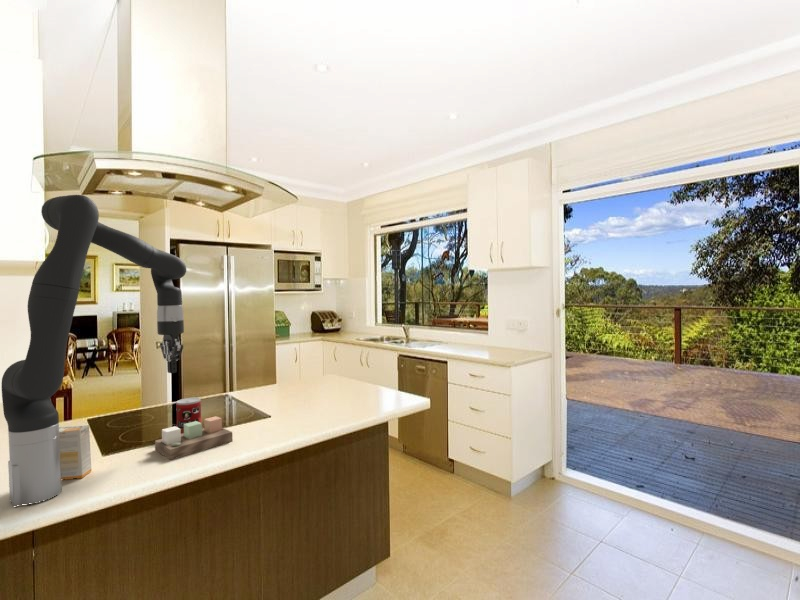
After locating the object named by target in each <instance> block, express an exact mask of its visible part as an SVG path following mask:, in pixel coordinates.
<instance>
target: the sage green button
mask: <svg viewBox="0 0 800 600" xmlns="http://www.w3.org/2000/svg"><path fill="white" fill-rule="evenodd" d="M202 428H203V423H202V422H201V423H200V422H198V421H194V422H190V423H186V424H184V437H186V438H188V439H191V438H195V437H199V436H202Z"/></svg>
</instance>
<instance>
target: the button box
mask: <svg viewBox="0 0 800 600" xmlns="http://www.w3.org/2000/svg"><path fill="white" fill-rule="evenodd" d="M231 442H233V431H231V430H229V429H227V428H223V427H222V430H220V431H217V432H213V433H208V432H205V431H204V427H202V436H199V437H195V438H191V439H188V438H186V437H184V433H182V434H181V441H180V442H176V443H173V444H169V445H166V444H164V443H162V438H160V439H156V440H154V450H155V451H156V452H157V453H159V454H161V455H162V456H164V457H165V458H167V459H169V460H175V459H178V458H181V457H184V456H187V455H190V454H194V453H199V452H200V451H204V450H207V449H211V448H214V447H218V446H220V445H221V446H222V445H223V444H227V443H231Z"/></svg>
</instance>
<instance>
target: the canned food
mask: <svg viewBox="0 0 800 600" xmlns="http://www.w3.org/2000/svg"><path fill="white" fill-rule="evenodd" d="M201 402H202V401H201V398H200V397H186V398H181V399H179V400H177V401H176V408H175V409H176V427H178V428H180V429H181V434H182V433H184V424H186V423H190V422H194V421H198V422H200V423H202V403H201Z"/></svg>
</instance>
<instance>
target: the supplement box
mask: <svg viewBox="0 0 800 600" xmlns="http://www.w3.org/2000/svg"><path fill="white" fill-rule="evenodd" d="M90 433H91V432H90V425H89V424H83V425H71V426H69V425H68V426H59V436H60V459H61V479H65V480H73V478H77V479H83V478H85V477H86V476H87V475H88V474H89V472H90V473H91V472H92V470H93V469H92V453H91V438H90V437H91V436H90ZM86 474H87V475H86ZM85 475H86V476H85Z"/></svg>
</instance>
